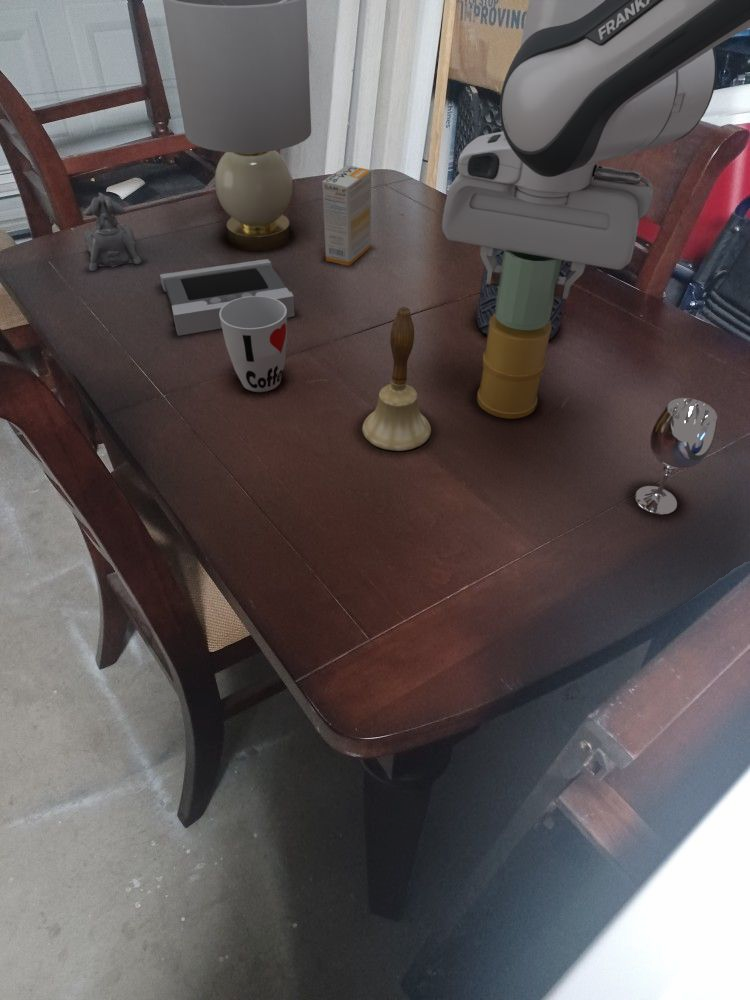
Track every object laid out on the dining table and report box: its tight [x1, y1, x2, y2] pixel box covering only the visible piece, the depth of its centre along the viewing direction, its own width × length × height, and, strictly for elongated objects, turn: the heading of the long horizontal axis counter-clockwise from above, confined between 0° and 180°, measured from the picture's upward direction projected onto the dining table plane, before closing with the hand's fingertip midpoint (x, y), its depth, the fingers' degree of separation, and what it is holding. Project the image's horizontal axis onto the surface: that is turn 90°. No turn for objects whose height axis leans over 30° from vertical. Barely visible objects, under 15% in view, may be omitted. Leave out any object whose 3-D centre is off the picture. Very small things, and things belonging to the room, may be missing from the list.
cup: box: [219, 296, 288, 393], centre depth 88 cm, size 8×8×10 cm
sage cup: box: [495, 250, 563, 330], centre depth 78 cm, size 6×6×8 cm
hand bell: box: [361, 306, 432, 452], centre depth 79 cm, size 8×8×16 cm
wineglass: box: [634, 397, 718, 516], centre depth 72 cm, size 6×6×12 cm
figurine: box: [82, 192, 143, 272], centre depth 113 cm, size 8×10×11 cm
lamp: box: [162, 0, 312, 252], centre depth 110 cm, size 20×20×35 cm
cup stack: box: [476, 314, 551, 420], centre depth 85 cm, size 8×8×11 cm
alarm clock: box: [159, 258, 296, 337], centre depth 105 cm, size 17×5×16 cm
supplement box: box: [321, 164, 372, 267], centre depth 114 cm, size 8×5×13 cm, turn 153°
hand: (526, 289), depth 78 cm, fingers closed on sage cup, 6 cm apart
